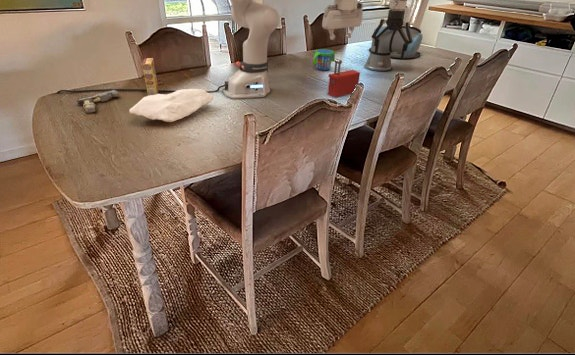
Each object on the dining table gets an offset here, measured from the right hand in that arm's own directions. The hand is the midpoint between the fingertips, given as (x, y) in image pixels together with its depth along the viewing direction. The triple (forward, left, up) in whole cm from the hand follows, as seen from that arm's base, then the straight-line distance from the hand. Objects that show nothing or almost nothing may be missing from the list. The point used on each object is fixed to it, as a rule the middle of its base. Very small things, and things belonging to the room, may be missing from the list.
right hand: (388, 55), depth 184 cm
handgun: (+101, -93, -15) cm, 138 cm away
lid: (+27, -12, -6) cm, 30 cm away
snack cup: (-5, -38, -15) cm, 41 cm away
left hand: (+31, -15, +11) cm, 36 cm away
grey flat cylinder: (-71, -15, -15) cm, 75 cm away
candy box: (+81, -84, -15) cm, 117 cm away
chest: (+26, -12, -15) cm, 33 cm away
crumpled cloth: (+92, -61, -15) cm, 111 cm away
